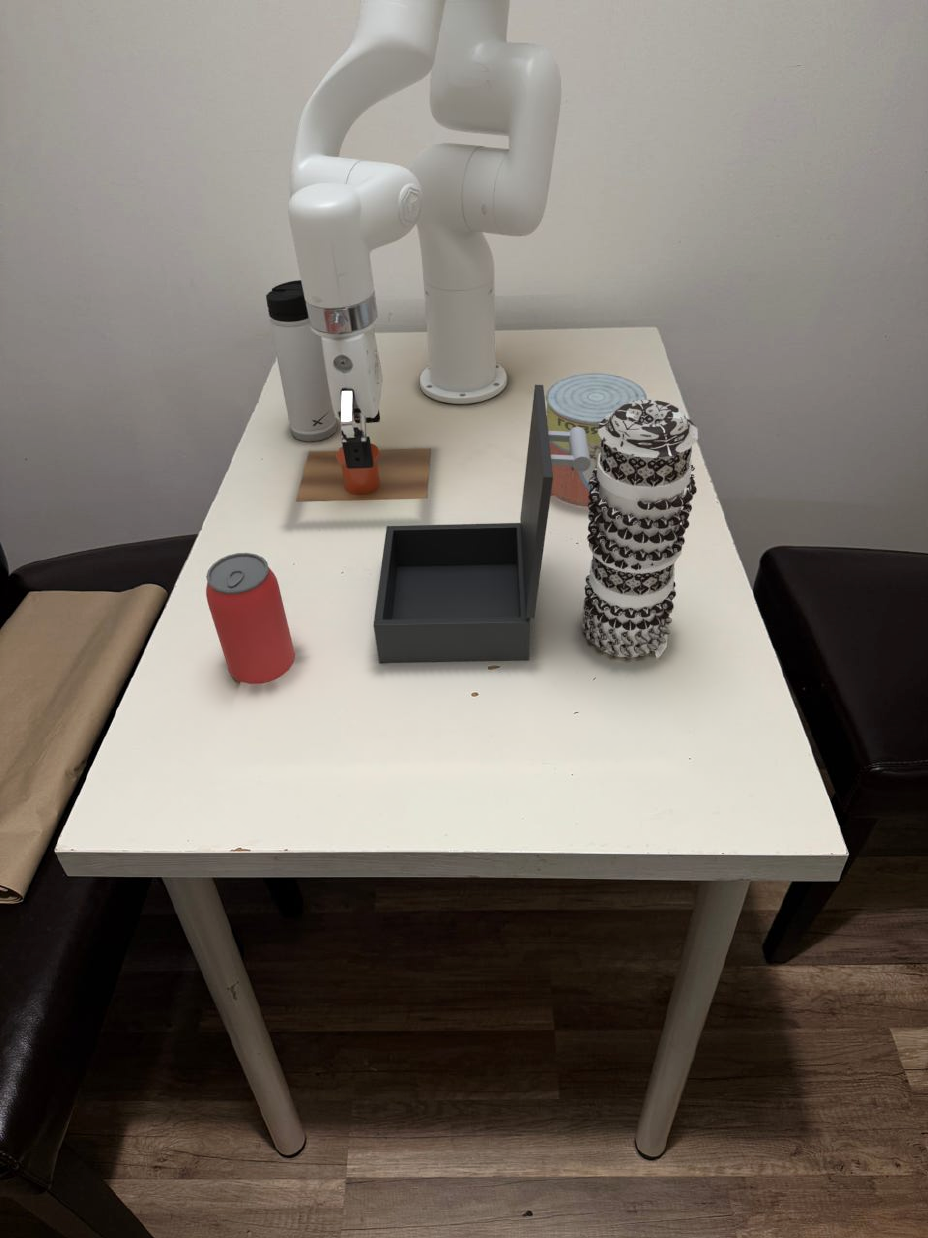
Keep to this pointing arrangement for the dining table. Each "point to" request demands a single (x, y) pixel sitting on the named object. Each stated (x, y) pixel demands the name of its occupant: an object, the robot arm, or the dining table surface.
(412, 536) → the open hinged box
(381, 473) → the mat
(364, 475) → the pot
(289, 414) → the travel mug
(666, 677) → the dining table surface
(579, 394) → the canned food
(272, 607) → the beer can
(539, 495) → the lid
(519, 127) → the robot arm
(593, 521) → the decorative candle
